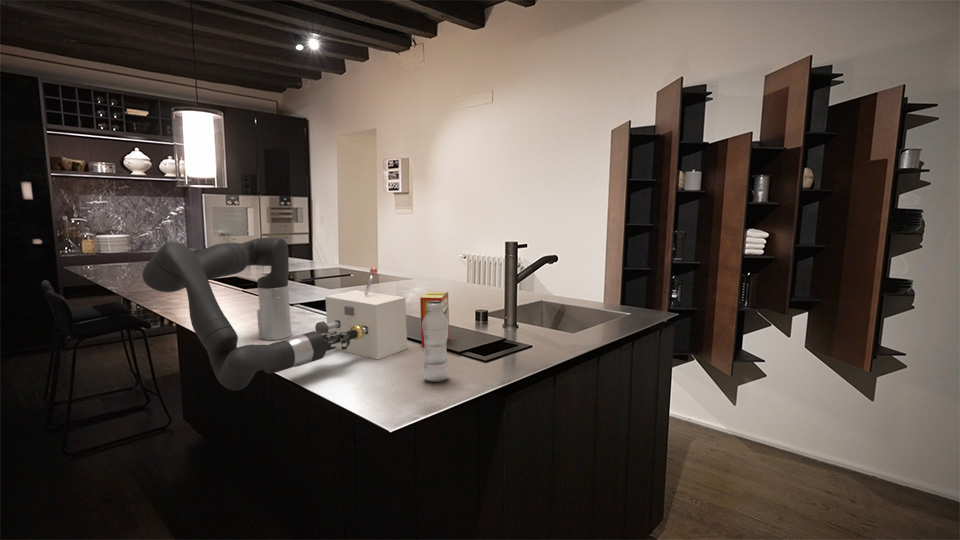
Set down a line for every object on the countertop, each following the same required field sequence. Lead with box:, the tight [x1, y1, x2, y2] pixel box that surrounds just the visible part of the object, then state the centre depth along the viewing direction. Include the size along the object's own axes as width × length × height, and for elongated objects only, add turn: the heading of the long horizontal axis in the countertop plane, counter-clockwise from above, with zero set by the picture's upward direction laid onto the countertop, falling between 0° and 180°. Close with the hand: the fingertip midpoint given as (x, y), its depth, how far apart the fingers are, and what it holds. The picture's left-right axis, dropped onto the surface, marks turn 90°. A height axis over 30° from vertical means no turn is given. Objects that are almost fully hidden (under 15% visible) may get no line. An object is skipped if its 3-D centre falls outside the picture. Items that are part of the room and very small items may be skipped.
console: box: [324, 289, 408, 361], centre depth 147 cm, size 22×13×16 cm, turn 56°
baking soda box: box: [419, 291, 450, 348], centre depth 152 cm, size 10×6×16 cm
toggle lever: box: [364, 267, 378, 296], centre depth 148 cm, size 2×2×9 cm
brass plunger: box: [350, 325, 368, 340], centre depth 139 cm, size 4×7×4 cm, turn 146°
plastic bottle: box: [422, 301, 450, 383], centre depth 120 cm, size 6×7×20 cm
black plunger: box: [314, 320, 340, 333], centre depth 144 cm, size 4×7×4 cm, turn 146°
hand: (355, 333), depth 136 cm, fingers closed
